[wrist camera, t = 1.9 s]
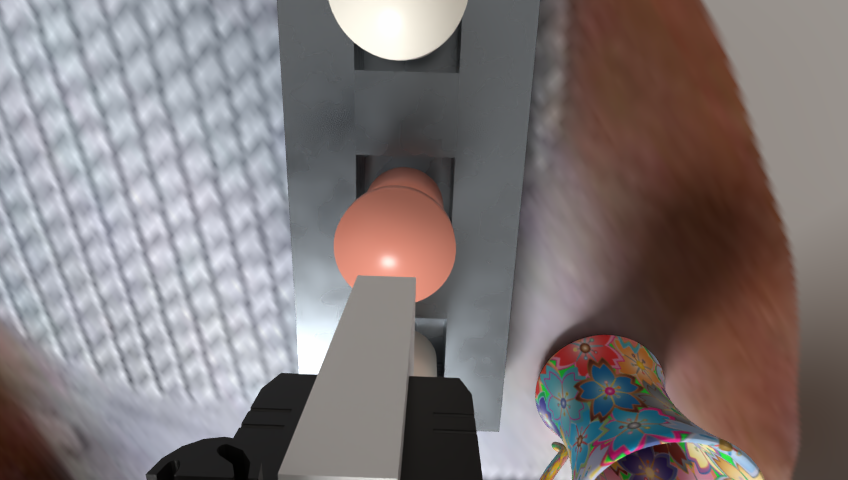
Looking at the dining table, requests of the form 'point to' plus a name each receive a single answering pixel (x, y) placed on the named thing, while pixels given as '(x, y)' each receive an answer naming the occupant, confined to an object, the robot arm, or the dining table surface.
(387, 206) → the plug red
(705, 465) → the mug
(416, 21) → the cream plug
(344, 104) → the plug board
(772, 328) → the dining table surface
